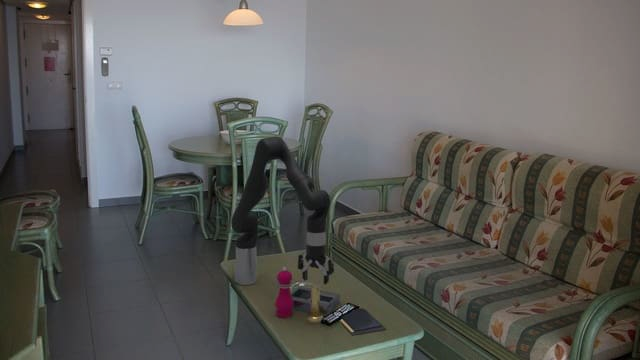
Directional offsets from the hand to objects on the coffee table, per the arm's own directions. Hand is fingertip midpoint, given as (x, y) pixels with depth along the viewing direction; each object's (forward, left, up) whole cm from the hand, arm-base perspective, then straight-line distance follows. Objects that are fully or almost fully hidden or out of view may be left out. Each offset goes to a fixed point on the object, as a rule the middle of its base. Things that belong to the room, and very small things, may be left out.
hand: (315, 281), depth 218 cm
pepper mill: (-13, -1, -16) cm, 21 cm away
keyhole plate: (-6, +12, -16) cm, 21 cm away
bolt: (0, 0, -16) cm, 16 cm away
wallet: (+16, +6, -17) cm, 24 cm away
